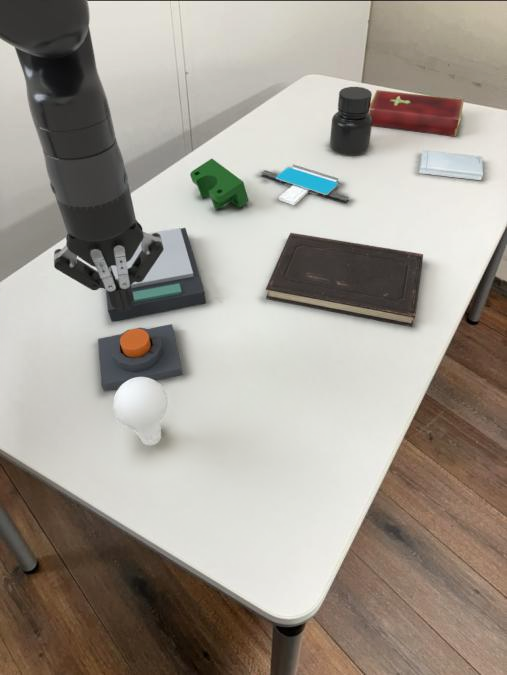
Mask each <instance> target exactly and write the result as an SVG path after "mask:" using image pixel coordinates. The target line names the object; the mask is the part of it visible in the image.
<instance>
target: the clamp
mask: <svg viewBox="0 0 507 675" xmlns="http://www.w3.org/2000/svg"><path fill="white" fill-rule="evenodd" d="M189 177H190V179H191V181H192V183H193V184H195V186H196V187H197V189H198V192H199V195H200V198H201V200H204V199H206V198H207V197H210V200H211V202H212V205H213V208H214V210H215V211H218V210H220V209H221V208H223V207H224V206H226V205H227V204H228V203H230V202H231V203H232V204H233V205H235V206H236V207H237V208H241V207H243V206H244V205H246V204H248V203H249V196H248V193H247V190H246V186H245V182H244V181H243V180H242V179H241V178H239V177H237V176H236V175H235V174H234V173H232V172H231V170H229V169H227V168H226V167H224V166H223V165H222V164H221V163H219V162H218V161H216V160H215V159H214V158H210V159H209V160H207V161H205V162H204V163H202V164H200V165H199V166H198V167H196V168H195V169H193V170H192V171H191V172H190V174H189Z"/></svg>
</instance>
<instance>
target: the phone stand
mask: <svg viewBox="0 0 507 675" xmlns="http://www.w3.org/2000/svg"><path fill="white" fill-rule="evenodd" d="M260 177H263V178H265V179H268V180H270V181H274V182H276V183H280V184H283V185H285V186H288V187H289V188H287V189H286V190H285V191H284V192H283V193H282V194H281V195H280V196H278V201H281V202H283V203H286V204H289V205H292V206H295V205H297V204H298V203H299V202H300V201H301V200H302V199H303V198H304V197H305V196H307V195H308V193H310V194H313V195H315V196H316V195H317V196H319V197H322V198H325V199H329V200H332V201H334V202H339V203H342V204H347V203H348V202H349V201H350V196H347V195H345V194H341V193H338V192H335V190H336V189H338V188H339V187H340V186H341V182H339V178H338V177H335V176H332V175H329V174H325V173H322V172H319V171H316V170H314V169H310V168H306V167H303V166H300V165H297V164H292V166H291V167H290V166H289V167H286V168H285V169H284V170H282V171H281V172H279V173H276V172H272V171H270V170H267V169H265V170H263V171H262V172H261V175H260Z"/></svg>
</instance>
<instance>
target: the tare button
mask: <svg viewBox="0 0 507 675" xmlns="http://www.w3.org/2000/svg"><path fill="white" fill-rule="evenodd" d="M130 329H131V330H130ZM130 329H128V330H129V331H127V330H126V331H127V332H125V331H124V332H125V333H124V332H123V333H124V334H123V335H122V336H121V339H120V344H121V347H122V350H123V353H124V354H125V355H126V356H128V357H131V358H137V357H141V356H144V355H145V354H147V353H148V352H149V350H150V348H151V342H150V338H149V335H148V333H147V332H146V331H145V330H142V329H135V328H130Z"/></svg>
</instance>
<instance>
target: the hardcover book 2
mask: <svg viewBox="0 0 507 675" xmlns="http://www.w3.org/2000/svg"><path fill="white" fill-rule="evenodd" d="M464 101H465V99H462V98H455V97H454V98H453V97H445V96H437V95H425V94H417V93H409V92H408V93H407V92H399V91H391V90H390V91H389V90H381V89H376V90H375V93H374V95H373V98H372V99H371V104H370V108H369V112H368V113H369V114H370V116H371V117H372V121H373V122H372V127H376V128H383V129H393V130H401V131H407V132H408V131H409V132H416V133H424V134H433V135H439V136H440V135H441V136H449V137H457V135H458V131H459V129H460V125H461V120H462V116H463V115H462V114H463V108H464Z"/></svg>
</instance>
